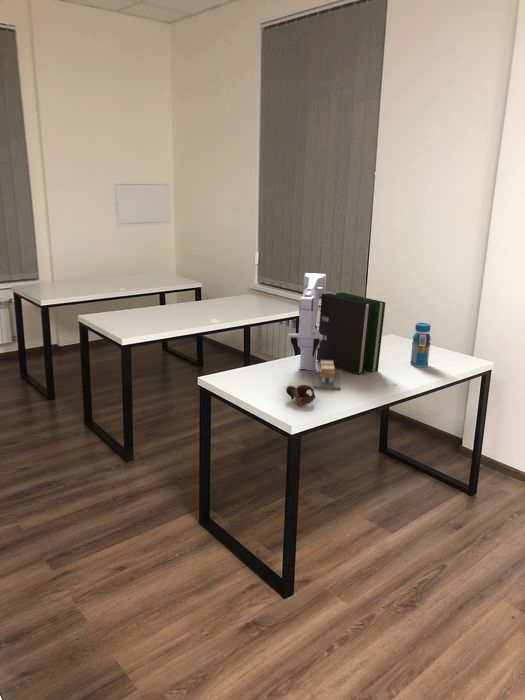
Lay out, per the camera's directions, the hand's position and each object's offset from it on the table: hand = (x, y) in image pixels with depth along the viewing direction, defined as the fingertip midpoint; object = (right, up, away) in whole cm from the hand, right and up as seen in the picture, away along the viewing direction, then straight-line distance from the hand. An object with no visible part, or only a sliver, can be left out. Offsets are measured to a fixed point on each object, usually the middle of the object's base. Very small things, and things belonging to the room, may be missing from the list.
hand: (304, 355), depth 254 cm
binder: (+21, -5, +20) cm, 30 cm away
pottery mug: (-4, -18, -28) cm, 33 cm away
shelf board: (+9, -7, -4) cm, 13 cm away
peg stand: (+9, -11, -3) cm, 15 cm away
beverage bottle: (+57, -5, +25) cm, 62 cm away
